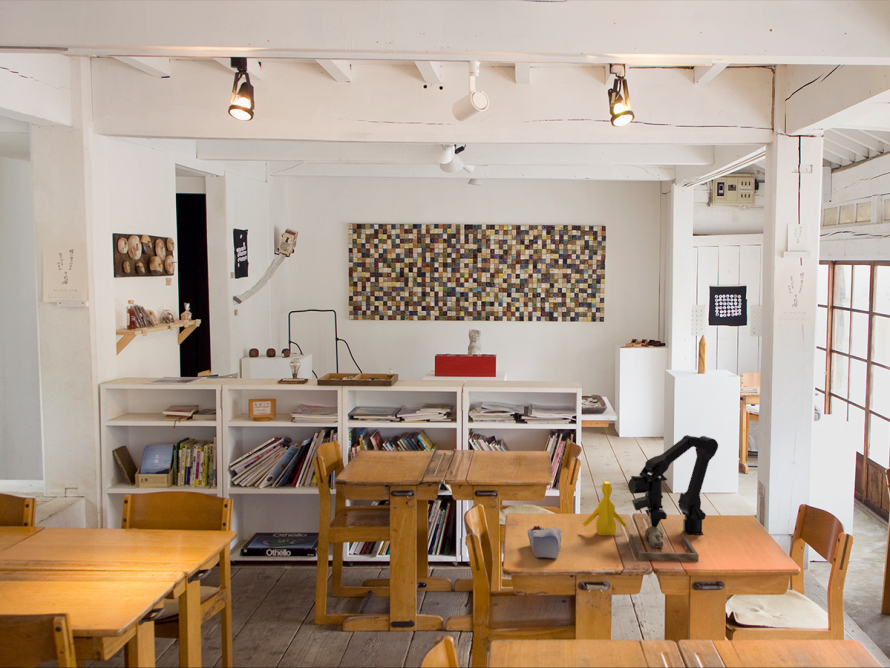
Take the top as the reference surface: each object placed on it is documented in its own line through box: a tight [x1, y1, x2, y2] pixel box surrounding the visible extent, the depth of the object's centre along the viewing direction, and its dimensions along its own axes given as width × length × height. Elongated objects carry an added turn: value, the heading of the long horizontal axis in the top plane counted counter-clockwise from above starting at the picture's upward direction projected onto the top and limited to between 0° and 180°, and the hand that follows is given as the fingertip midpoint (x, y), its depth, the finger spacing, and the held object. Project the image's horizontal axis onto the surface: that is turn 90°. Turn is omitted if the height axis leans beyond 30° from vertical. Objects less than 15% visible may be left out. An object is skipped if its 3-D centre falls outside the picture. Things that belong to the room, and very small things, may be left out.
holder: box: [628, 533, 699, 562], centre depth 284 cm, size 21×21×2 cm
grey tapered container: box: [527, 525, 562, 559], centre depth 283 cm, size 13×11×20 cm
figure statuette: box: [582, 481, 627, 536], centre depth 302 cm, size 18×8×22 cm, turn 88°
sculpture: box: [644, 526, 664, 549], centre depth 291 cm, size 7×5×15 cm
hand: (653, 529), depth 300 cm, fingers closed
